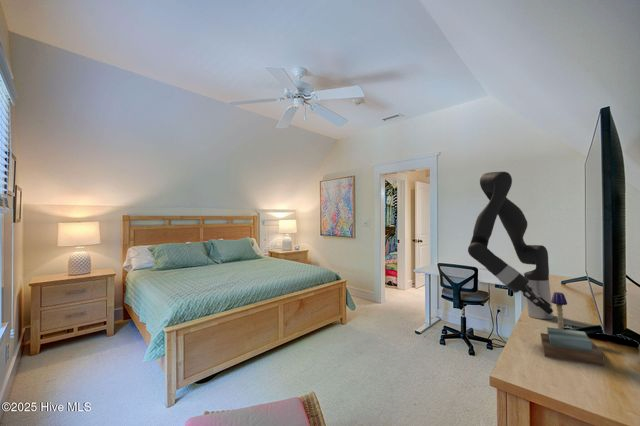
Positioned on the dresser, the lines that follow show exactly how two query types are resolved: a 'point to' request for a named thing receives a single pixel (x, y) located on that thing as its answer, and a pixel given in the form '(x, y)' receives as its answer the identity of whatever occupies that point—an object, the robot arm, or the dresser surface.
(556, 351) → the brick stand
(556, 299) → the toy lamp
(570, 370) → the dresser surface
